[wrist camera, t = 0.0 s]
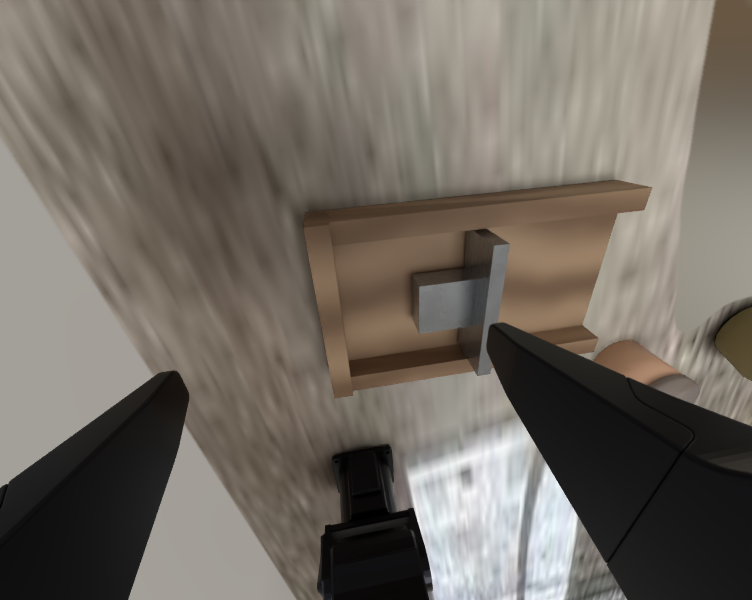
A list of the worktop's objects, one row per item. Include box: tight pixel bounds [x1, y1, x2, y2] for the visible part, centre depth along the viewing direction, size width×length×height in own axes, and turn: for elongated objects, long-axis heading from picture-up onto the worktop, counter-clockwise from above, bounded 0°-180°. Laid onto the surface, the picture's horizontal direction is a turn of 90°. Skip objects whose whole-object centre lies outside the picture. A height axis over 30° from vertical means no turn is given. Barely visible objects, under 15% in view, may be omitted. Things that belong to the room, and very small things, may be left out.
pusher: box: [412, 228, 510, 376], centre depth 23 cm, size 10×5×4 cm, turn 4°
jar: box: [593, 340, 700, 404], centre depth 31 cm, size 6×6×6 cm
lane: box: [303, 180, 652, 398], centre depth 25 cm, size 14×23×4 cm, turn 94°
